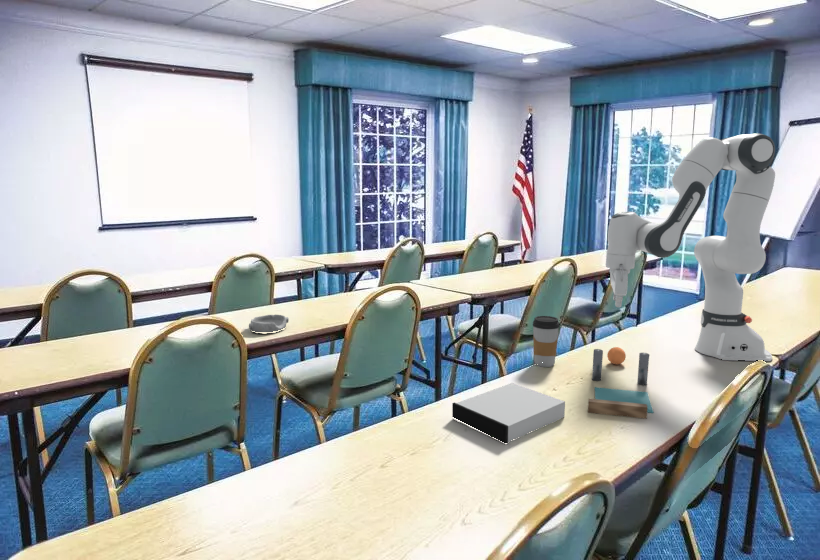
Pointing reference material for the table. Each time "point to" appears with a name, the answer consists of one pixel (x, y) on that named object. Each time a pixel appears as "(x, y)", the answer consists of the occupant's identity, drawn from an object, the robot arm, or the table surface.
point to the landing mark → (624, 396)
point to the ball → (616, 355)
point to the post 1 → (597, 364)
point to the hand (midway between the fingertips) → (617, 303)
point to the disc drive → (509, 411)
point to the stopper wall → (617, 408)
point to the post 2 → (643, 368)
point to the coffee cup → (545, 340)
